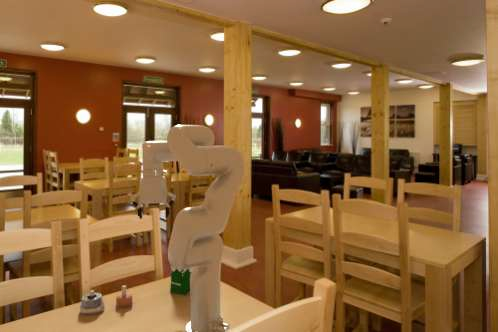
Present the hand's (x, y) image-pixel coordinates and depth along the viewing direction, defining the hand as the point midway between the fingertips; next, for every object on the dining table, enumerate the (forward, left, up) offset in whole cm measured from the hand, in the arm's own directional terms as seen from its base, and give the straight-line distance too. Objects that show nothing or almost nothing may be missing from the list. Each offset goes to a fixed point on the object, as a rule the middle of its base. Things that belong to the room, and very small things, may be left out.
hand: (153, 217), depth 143 cm
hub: (+8, +22, -30) cm, 38 cm away
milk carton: (-7, -8, -31) cm, 32 cm away
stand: (+2, +13, -30) cm, 33 cm away
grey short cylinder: (+8, +22, -28) cm, 37 cm away
